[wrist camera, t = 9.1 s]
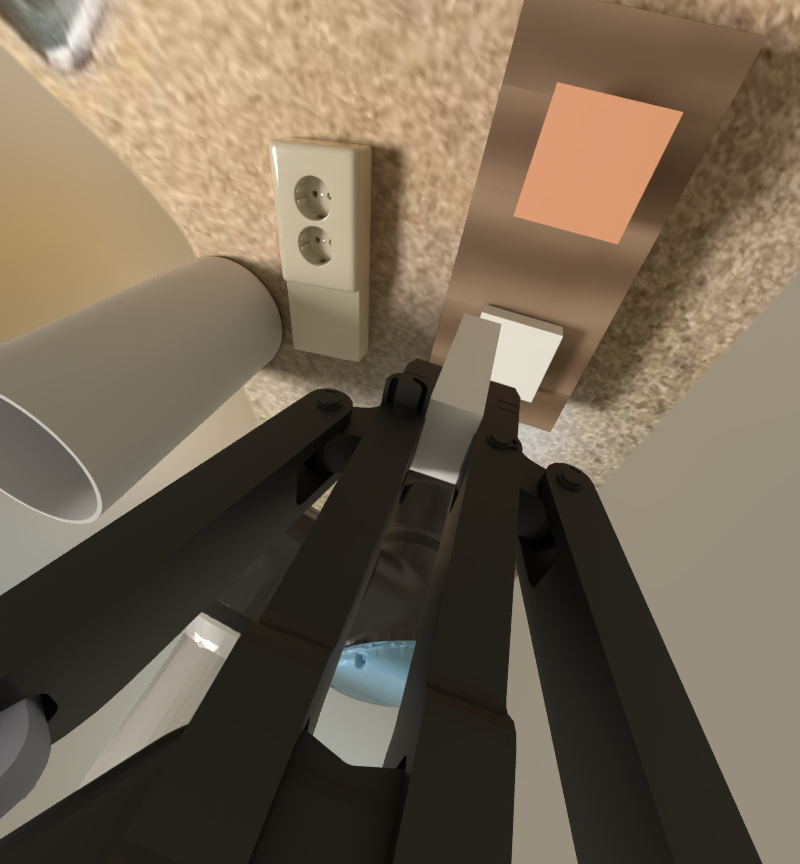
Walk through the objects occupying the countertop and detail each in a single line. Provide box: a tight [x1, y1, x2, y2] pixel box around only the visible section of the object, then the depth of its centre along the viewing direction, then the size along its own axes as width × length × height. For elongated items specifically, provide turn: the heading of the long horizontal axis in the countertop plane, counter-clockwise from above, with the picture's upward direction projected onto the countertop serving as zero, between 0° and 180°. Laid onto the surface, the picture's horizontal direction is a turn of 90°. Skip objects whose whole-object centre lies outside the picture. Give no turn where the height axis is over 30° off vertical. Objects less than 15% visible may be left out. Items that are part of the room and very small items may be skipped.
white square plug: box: [480, 304, 563, 402], centre depth 35 cm, size 6×6×7 cm
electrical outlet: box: [269, 137, 372, 362], centre depth 38 cm, size 7×4×18 cm
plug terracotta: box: [513, 82, 683, 244], centre depth 25 cm, size 6×6×7 cm
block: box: [429, 0, 767, 432], centre depth 32 cm, size 26×12×6 cm, turn 169°
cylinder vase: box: [0, 256, 282, 524], centre depth 37 cm, size 12×12×25 cm
